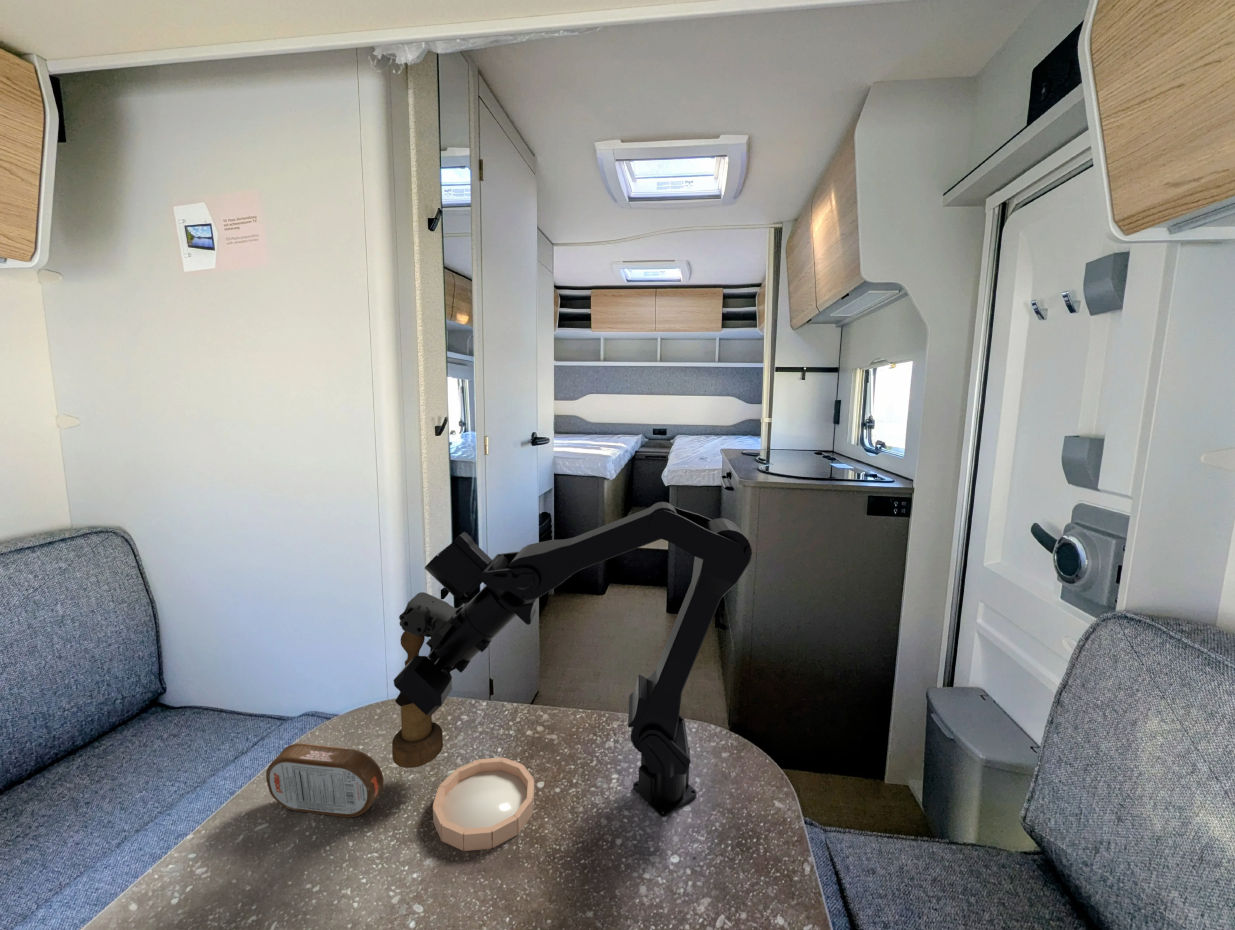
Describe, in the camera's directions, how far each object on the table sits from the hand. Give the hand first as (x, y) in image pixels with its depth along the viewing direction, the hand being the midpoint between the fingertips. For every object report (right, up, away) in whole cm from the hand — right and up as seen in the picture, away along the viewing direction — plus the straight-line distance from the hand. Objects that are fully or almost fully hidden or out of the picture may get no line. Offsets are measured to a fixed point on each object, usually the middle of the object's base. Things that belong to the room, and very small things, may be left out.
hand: (405, 693), depth 69 cm
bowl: (+12, -14, -3) cm, 18 cm away
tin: (-9, -14, -3) cm, 17 cm away
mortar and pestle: (+1, -9, +1) cm, 9 cm away
